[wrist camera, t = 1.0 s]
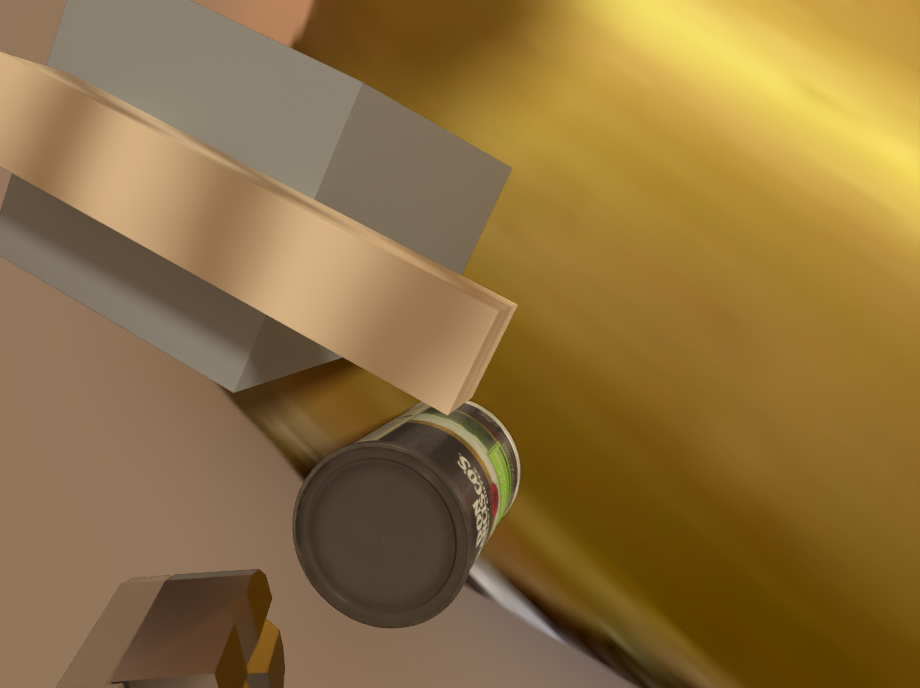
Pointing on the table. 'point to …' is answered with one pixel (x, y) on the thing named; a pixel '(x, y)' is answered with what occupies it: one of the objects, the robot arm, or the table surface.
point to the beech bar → (251, 235)
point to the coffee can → (405, 513)
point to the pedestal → (257, 145)
